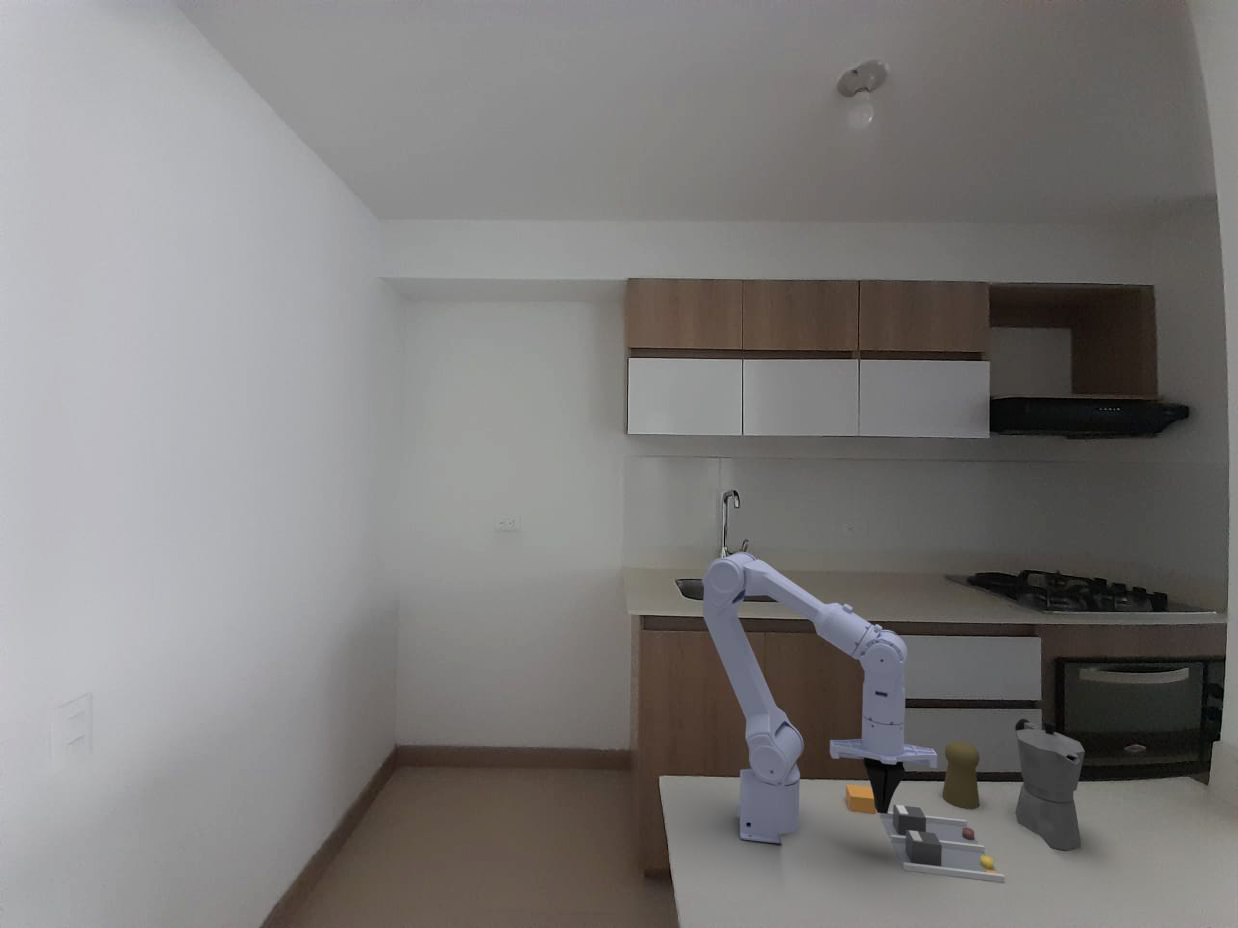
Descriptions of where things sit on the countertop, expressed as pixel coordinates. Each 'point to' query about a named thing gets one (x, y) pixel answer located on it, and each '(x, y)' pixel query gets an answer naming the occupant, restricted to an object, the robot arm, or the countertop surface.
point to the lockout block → (860, 798)
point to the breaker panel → (948, 850)
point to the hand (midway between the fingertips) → (881, 809)
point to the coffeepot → (1049, 784)
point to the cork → (961, 776)
